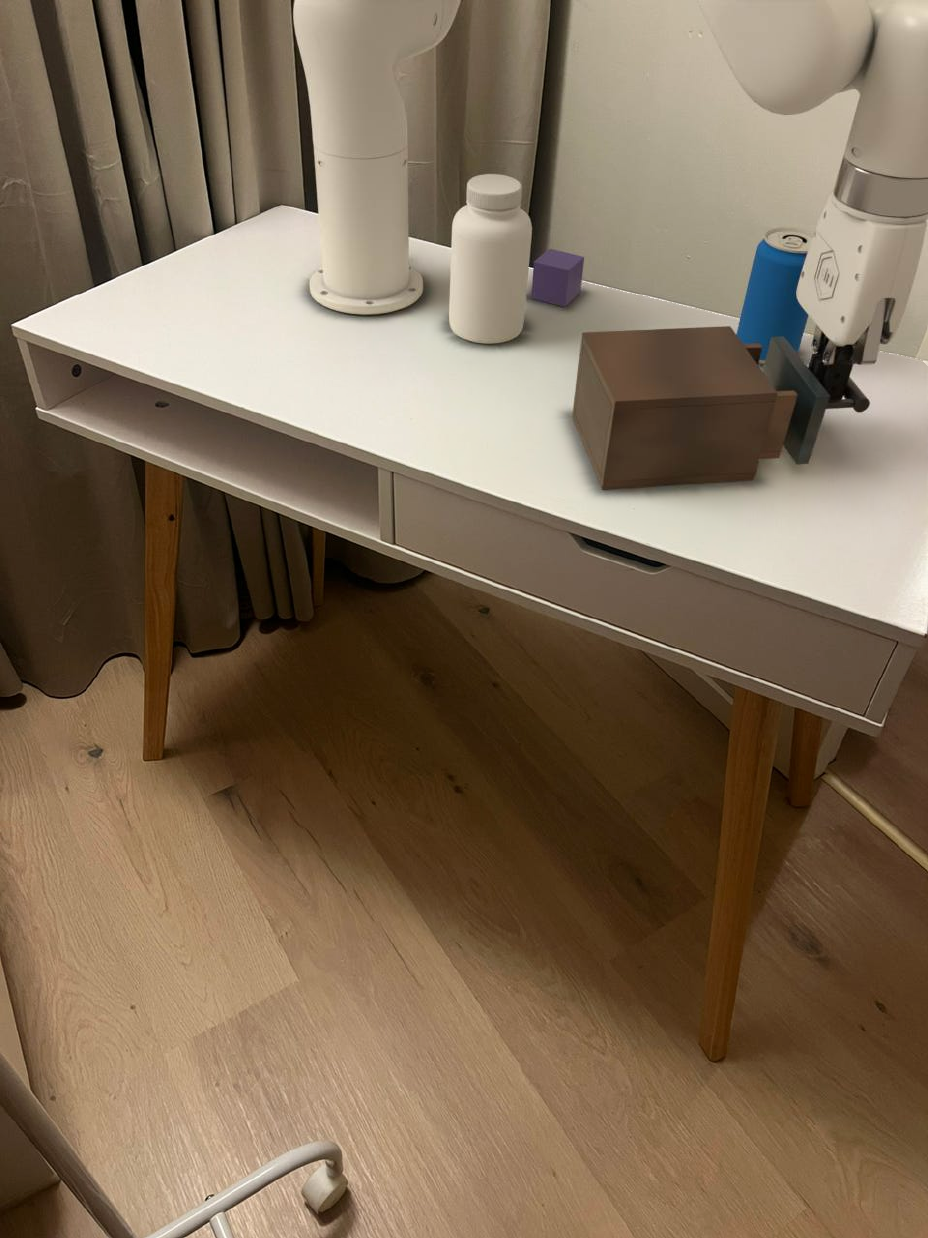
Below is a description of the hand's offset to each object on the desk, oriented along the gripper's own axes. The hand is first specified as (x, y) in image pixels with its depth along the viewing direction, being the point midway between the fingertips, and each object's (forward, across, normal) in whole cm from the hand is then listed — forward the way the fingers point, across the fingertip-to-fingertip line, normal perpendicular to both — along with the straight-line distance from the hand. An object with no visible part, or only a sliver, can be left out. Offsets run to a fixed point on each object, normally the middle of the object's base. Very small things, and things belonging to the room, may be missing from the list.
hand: (820, 397), depth 88 cm
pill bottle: (+5, -24, -26) cm, 36 cm away
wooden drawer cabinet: (+4, 0, -14) cm, 15 cm away
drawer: (+3, 0, -6) cm, 7 cm away
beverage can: (+4, -16, +2) cm, 17 cm away
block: (+4, -31, -17) cm, 36 cm away
